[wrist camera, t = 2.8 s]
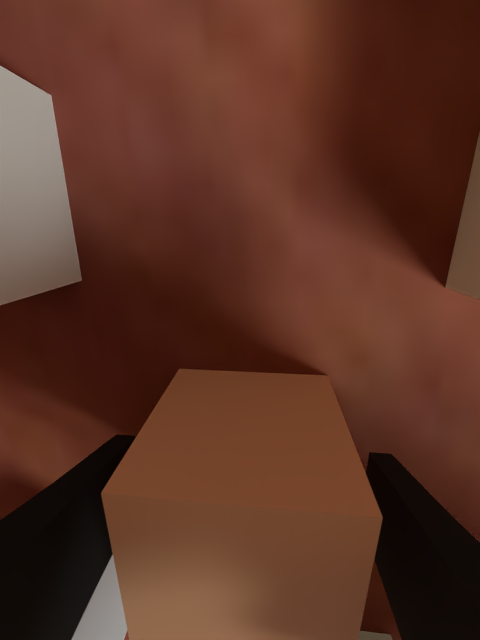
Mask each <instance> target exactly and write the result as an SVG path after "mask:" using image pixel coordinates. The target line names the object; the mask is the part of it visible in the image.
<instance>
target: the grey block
mask: <svg viewBox="0 0 480 640" xmlns="http://www.w3.org/2000/svg"><path fill="white" fill-rule="evenodd" d="M126 632H127V625H126V620H125V614H124V609H123V604H122V599H121V594H120V589H119V584H118V578H117V573H116V568H115V563H114V558H113V555H112V557H111V559H110V561H109V563H108V565H107V567H106V569H105V571H104V573H103V575H102V577H101V579H100V581H99V583H98V585H97V587H96V589H95V591H94V593H93V595H92V597H91V599H90V601H89V603H88V605H87V607H86V609H85V611H84V613H83V615H82V618H81V620H80V622H79V624H78V626H77V629H76V631H75V633H74V635H73V637H72V640H124V638H125V635H126Z"/></svg>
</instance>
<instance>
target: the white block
mask: <svg viewBox="0 0 480 640" xmlns="http://www.w3.org/2000/svg"><path fill="white" fill-rule="evenodd" d="M79 281H82V277H81V271H80V265H79V259H78V253H77V247H76V241H75V235H74V229H73V223H72V217H71V211H70V205H69V199H68V193H67V187H66V181H65V175H64V169H63V163H62V158H61V152H60V146H59V140H58V134H57V128H56V122H55V116H54V110H53V104H52V98H51V95H50V94H48V93H46V92H44V91H43V90H41V89H39V88H38V87H36V86H34V85H32V84H31V83H29V82H27V81H26V80H24V79H22V78H21V77H19V76H17V75H15V74H14V73H12V72H10V71H9V70H7V69H5V68H3V67H2V66H0V305H3V304H7V303H10V302H13V301H16V300H20V299H23V298H26V297H30V296H33V295H36V294H39V293H43V292H46V291H49V290H53V289H56V288H59V287H63V286H66V285H69V284H72V283H76V282H79Z"/></svg>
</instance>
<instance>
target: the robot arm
mask: <svg viewBox="0 0 480 640" xmlns="http://www.w3.org/2000/svg"><path fill="white" fill-rule="evenodd" d="M134 440H135V436H128V435H116V436H114V437H113V438H111V439H110V440H109V441H107V442H106V443H105V444H103V445H102V446H101V447H99V448H98V449H97V450H96V451H94V452H93V453H92V454H90V455H89V456H88V457H87V458H85V459H84V460H83V461H81V462H80V463H79V464H77V465H76V466H75V467H74V468H72V469H71V470H70V471H68V472H67V473H66V474H64V475H63V476H62V477H60V478H59V479H58V480H56V481H55V482H54V483H52V484H51V485H50V486H48V487H47V488H46V489H44V490H43V491H41V492H40V493H38V494H37V495H36V496H34V497H33V498H31V499H30V500H29V501H27V502H26V503H24V504H23V505H21V506H20V507H19V508H17V509H16V510H14V511H13V512H12V513H10V514H9V515H7V516H6V517H4V518H3V519H1V520H0V640H72V637H73V635H74V633H75V631H76V629H77V626H78V624H79V622H80V620H81V618H82V615H83V613H84V611H85V609H86V607H87V605H88V603H89V601H90V599H91V597H92V595H93V593H94V591H95V589H96V587H97V585H98V583H99V581H100V579H101V577H102V575H103V573H104V571H105V569H106V567H107V565H108V563H109V561H110V559H111V557H112V555H113V553H112V548H111V542H110V537H109V532H108V527H107V522H106V517H105V512H104V506H103V501H102V496H101V492H102V491H103V489H104V487H105V486H106V484H107V483H108V481H109V479H110V478H111V476H112V475H113V473H114V471H115V470H116V468H117V467H118V465H119V464H120V462H121V460H122V459H123V457H124V456H125V454H126V452H127V451H128V449H129V448H130V446H131V444H132V443H133V441H134ZM366 476H367V478H368V481H369V483H370V486H371V488H372V491H373V494H374V496H375V499H376V501H377V504H378V507H379V509H380V512H381V514H382V517H383V519H382V524H381V529H380V534H379V539H378V544H377V549H376V554H375V558H374V559H375V562H376V565H377V568H378V571H379V574H380V577H381V580H382V582H383V585H384V588H385V591H386V594H387V597H388V600H389V603H390V606H391V609H392V612H393V614H394V617H395V620H396V623H397V626H398V629H399V632H400V635H401V638H402V640H480V543H479V542H478V541H477V540H476V539H475V538H474V537H473V536H472V535H471V534H470V533H469V532H468V531H467V530H466V529H465V528H464V527H463V526H462V525H461V524H459V523H458V522H457V521H456V520H455V519H454V518H453V517H452V516H451V515H450V514H449V513H448V512H447V511H446V510H445V509H444V508H443V507H442V506H441V505H440V504H439V503H438V502H437V501H436V500H435V499H434V498H433V497H432V496H431V495H430V493H429V492H428V491H427V490H426V489H425V488H424V487H423V486H422V485H421V484H420V483H419V482H418V481H417V480H416V479H415V478H414V477H413V476H412V475H411V474H410V473H409V472H408V471H407V470H406V469H405V468H404V467H403V465H402V464H401V463H400V462H399V461H398V460H397V459H396V458H395V457H394V456H393V455H392V454H384V453H369V459H368V465H367V471H366Z"/></svg>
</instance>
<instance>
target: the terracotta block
mask: <svg viewBox="0 0 480 640" xmlns="http://www.w3.org/2000/svg"><path fill="white" fill-rule="evenodd" d="M101 496H102V501H103V506H104V512H105V517H106V522H107V527H108V532H109V537H110V542H111V548H112V553H113V558H114V563H115V568H116V573H117V578H118V584H119V589H120V594H121V599H122V604H123V609H124V614H125V620H126V625H127V630H128V635H129V640H358V637H359V632H360V628H361V623H362V618H363V613H364V608H365V603H366V598H367V593H368V588H369V583H370V578H371V573H372V568H373V563H374V558H375V554H376V549H377V544H378V539H379V534H380V529H381V524H382V519H383V517H382V514H381V512H380V509H379V507H378V504H377V501H376V499H375V496H374V494H373V491H372V488H371V486H370V483H369V481H368V478H367V476H366V473H365V470H364V468H363V465H362V463H361V460H360V457H359V455H358V452H357V450H356V447H355V444H354V442H353V439H352V437H351V434H350V432H349V429H348V426H347V424H346V421H345V419H344V416H343V413H342V411H341V408H340V406H339V403H338V400H337V398H336V395H335V393H334V390H333V388H332V385H331V382H330V380H329V377H328V375H307V374H285V373H263V372H241V371H219V370H197V369H179V370H178V371H177V373H176V374H175V376H174V378H173V379H172V381H171V382H170V384H169V386H168V387H167V389H166V390H165V392H164V394H163V395H162V397H161V398H160V400H159V402H158V403H157V405H156V406H155V408H154V409H153V411H152V413H151V414H150V416H149V417H148V419H147V421H146V422H145V424H144V425H143V427H142V429H141V430H140V432H139V433H138V435H137V437H136V438H135V440H134V441H133V443H132V444H131V446H130V448H129V449H128V451H127V452H126V454H125V456H124V457H123V459H122V460H121V462H120V464H119V465H118V467H117V468H116V470H115V471H114V473H113V475H112V476H111V478H110V479H109V481H108V483H107V484H106V486H105V487H104V489H103V491H102V492H101Z"/></svg>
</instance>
